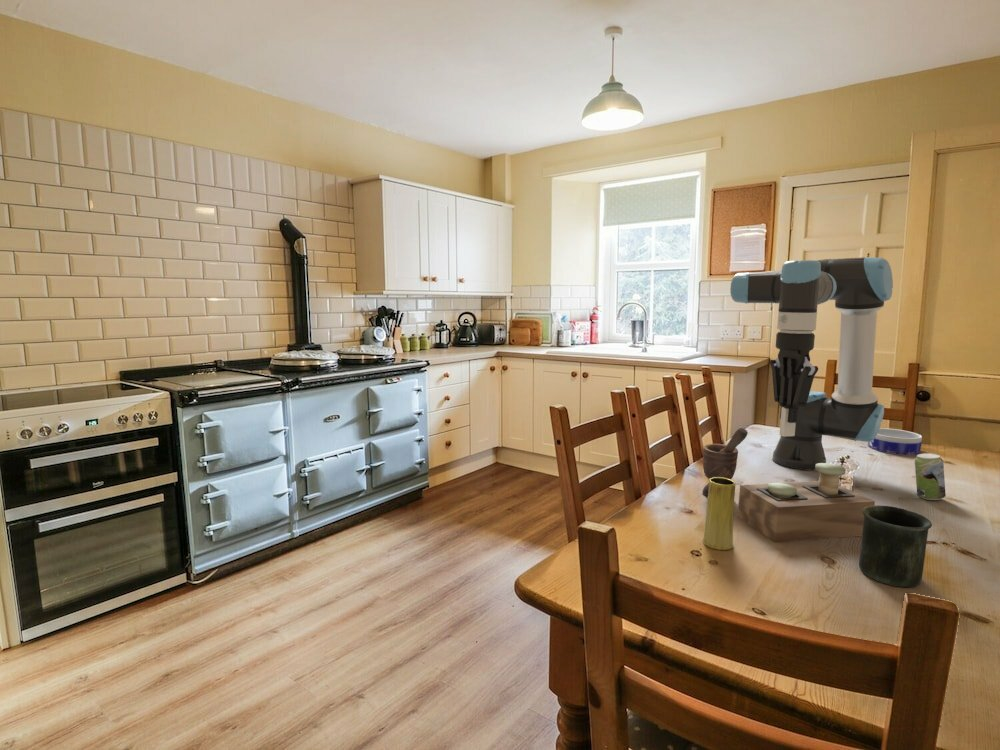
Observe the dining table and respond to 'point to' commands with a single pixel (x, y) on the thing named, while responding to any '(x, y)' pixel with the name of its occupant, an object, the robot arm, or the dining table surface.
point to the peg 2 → (829, 477)
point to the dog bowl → (896, 442)
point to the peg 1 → (782, 490)
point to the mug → (893, 545)
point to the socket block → (803, 512)
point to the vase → (719, 514)
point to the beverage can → (930, 476)
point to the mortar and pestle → (722, 458)
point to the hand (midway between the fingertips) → (786, 435)
